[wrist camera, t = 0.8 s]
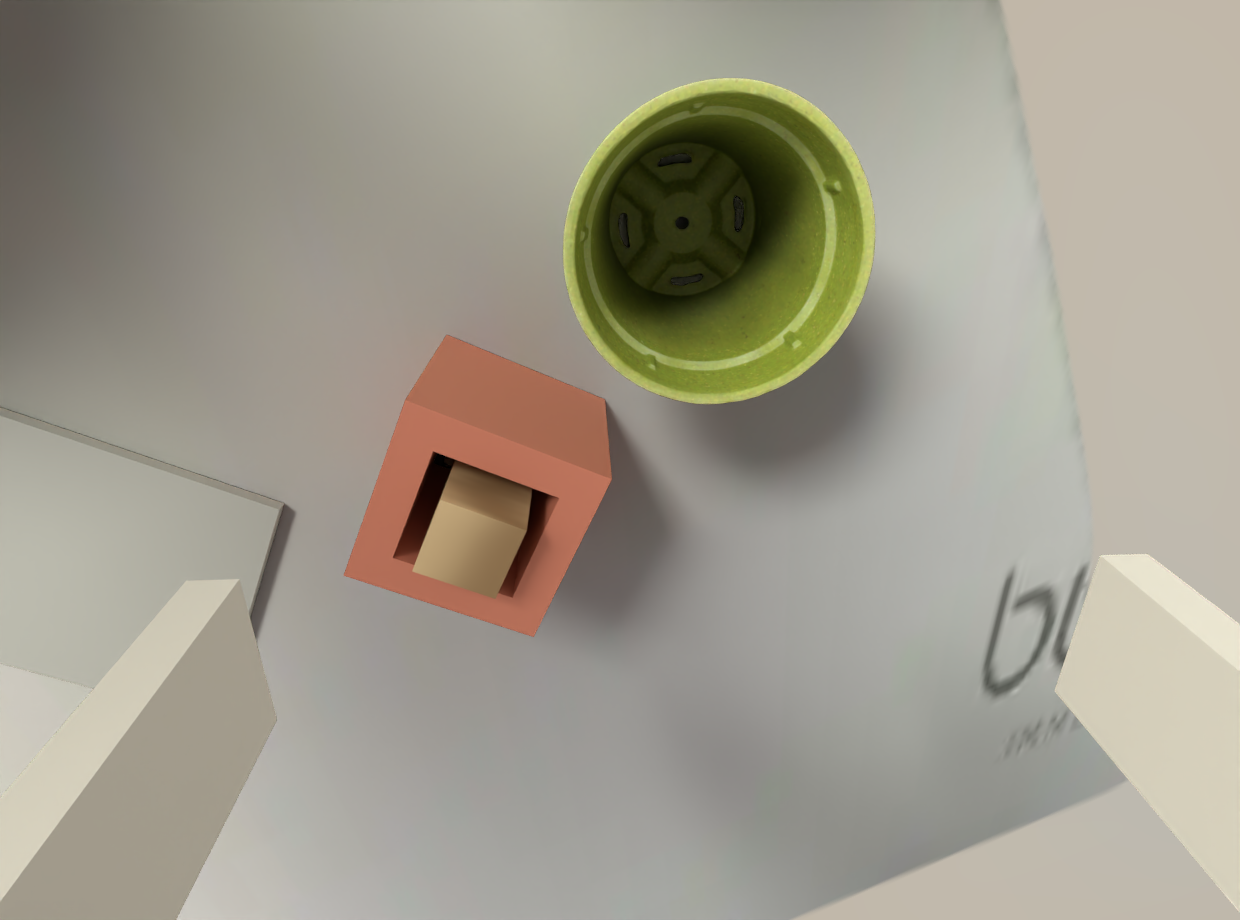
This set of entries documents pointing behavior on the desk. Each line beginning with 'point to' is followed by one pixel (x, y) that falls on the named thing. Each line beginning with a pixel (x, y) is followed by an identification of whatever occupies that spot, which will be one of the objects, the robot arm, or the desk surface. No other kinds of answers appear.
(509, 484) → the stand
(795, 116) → the plant pot
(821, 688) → the desk surface
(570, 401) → the salmon square sleeve
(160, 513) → the coaster
